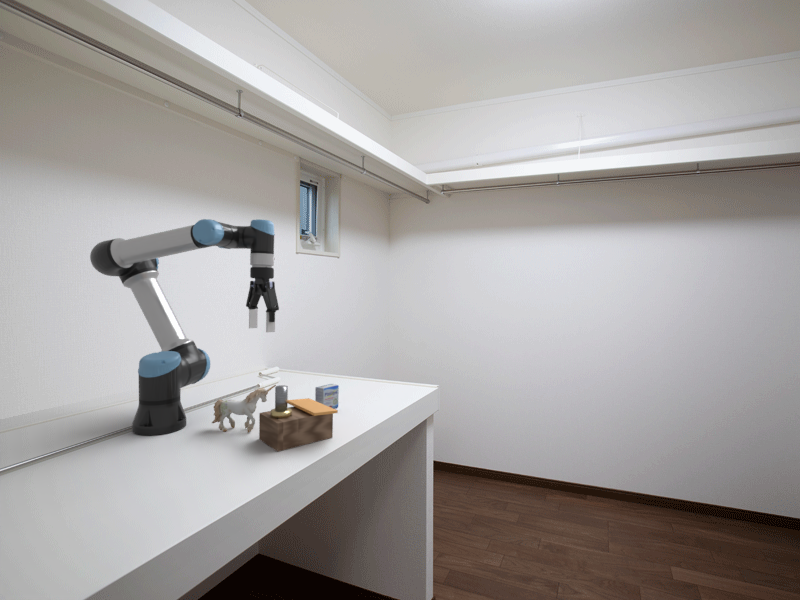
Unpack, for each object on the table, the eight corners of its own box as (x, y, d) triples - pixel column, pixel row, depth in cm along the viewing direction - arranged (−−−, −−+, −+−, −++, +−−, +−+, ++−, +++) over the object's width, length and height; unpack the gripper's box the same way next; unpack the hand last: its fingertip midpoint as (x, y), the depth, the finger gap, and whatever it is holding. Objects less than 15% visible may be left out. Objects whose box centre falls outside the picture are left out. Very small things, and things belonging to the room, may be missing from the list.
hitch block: (277, 451, 123) (277, 423, 123) (259, 439, 132) (259, 412, 132) (332, 437, 135) (332, 411, 135) (312, 427, 144) (312, 403, 144)
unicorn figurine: (275, 432, 139) (275, 389, 138) (208, 436, 134) (208, 392, 133) (275, 424, 146) (276, 384, 145) (212, 428, 141) (212, 386, 140)
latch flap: (314, 415, 127) (314, 413, 127) (286, 402, 140) (286, 400, 140) (337, 413, 133) (337, 410, 133) (308, 400, 145) (308, 398, 145)
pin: (276, 444, 126) (276, 390, 125) (266, 438, 130) (267, 386, 130) (295, 439, 130) (295, 387, 129) (285, 433, 134) (286, 383, 134)
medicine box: (323, 412, 161) (323, 388, 160) (314, 409, 163) (315, 386, 163) (338, 407, 167) (339, 384, 166) (330, 405, 170) (330, 383, 169)
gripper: (290, 266, 141) (289, 333, 142) (257, 267, 159) (256, 326, 160) (267, 265, 136) (267, 334, 137) (236, 266, 155) (236, 327, 155)
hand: (261, 330), depth 149 cm, fingers open, 13 cm apart
